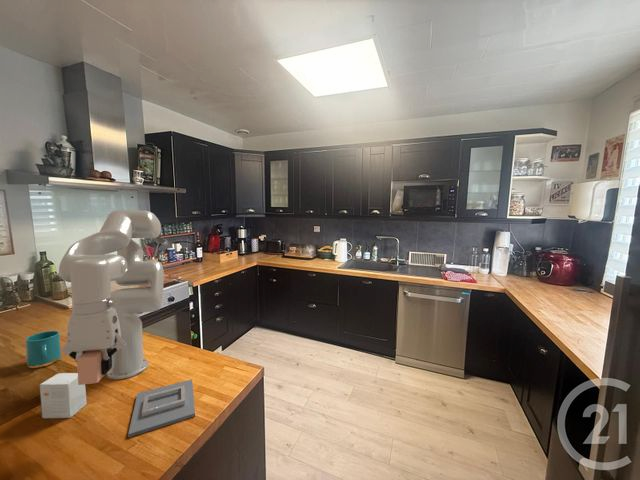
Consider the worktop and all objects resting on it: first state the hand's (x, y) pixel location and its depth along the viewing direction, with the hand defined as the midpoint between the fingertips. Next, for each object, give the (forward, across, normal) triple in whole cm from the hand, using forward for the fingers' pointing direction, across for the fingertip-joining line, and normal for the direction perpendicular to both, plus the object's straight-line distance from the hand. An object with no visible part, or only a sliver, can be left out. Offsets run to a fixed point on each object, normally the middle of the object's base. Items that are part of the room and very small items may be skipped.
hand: (96, 372), depth 68 cm
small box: (+17, +14, -11) cm, 25 cm away
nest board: (+17, -14, -7) cm, 23 cm away
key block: (+1, 0, 0) cm, 1 cm away
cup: (+18, +39, -42) cm, 60 cm away
